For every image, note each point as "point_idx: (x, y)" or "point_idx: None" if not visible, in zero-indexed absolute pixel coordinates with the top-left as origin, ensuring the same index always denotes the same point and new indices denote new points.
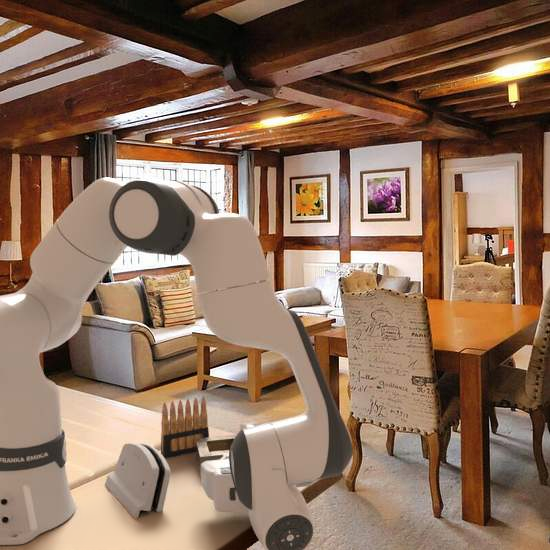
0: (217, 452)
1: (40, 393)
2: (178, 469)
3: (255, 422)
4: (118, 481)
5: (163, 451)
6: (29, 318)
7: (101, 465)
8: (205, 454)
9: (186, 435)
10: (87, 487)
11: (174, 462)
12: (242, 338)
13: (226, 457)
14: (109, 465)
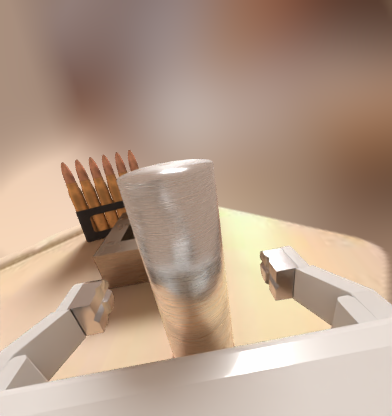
0: (134, 242)
1: None
2: (87, 266)
3: (190, 160)
4: None
5: (84, 233)
6: None
7: (3, 257)
8: (108, 248)
9: (114, 208)
10: None
11: (95, 249)
12: None
13: (64, 317)
14: (12, 257)
